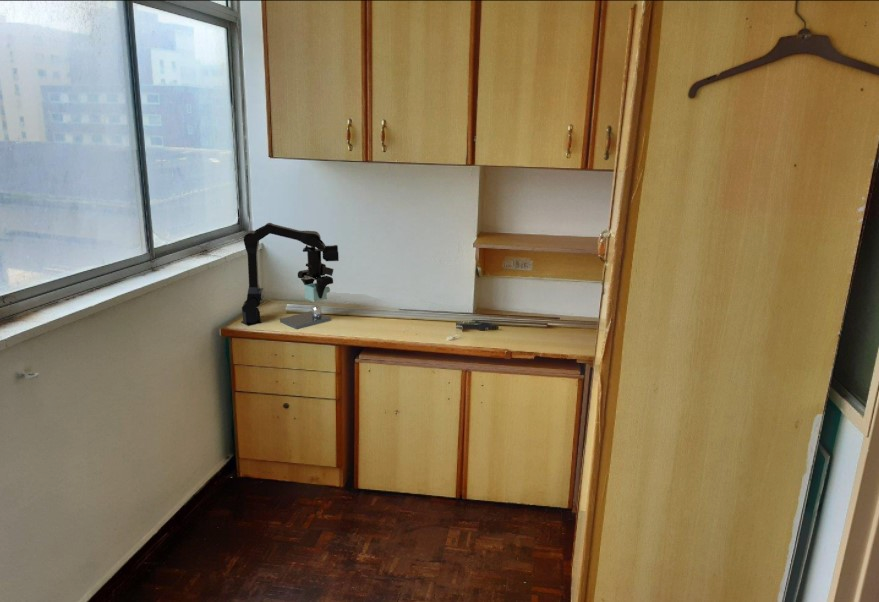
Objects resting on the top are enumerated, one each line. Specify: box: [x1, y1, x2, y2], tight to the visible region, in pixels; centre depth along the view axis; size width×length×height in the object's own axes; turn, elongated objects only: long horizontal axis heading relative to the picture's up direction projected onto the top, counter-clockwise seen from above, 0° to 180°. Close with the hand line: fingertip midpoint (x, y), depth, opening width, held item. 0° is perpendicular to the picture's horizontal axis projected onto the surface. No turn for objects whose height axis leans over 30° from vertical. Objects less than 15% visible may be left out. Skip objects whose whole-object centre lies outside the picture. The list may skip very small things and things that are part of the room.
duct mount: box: [279, 304, 331, 330], centre depth 279 cm, size 17×13×6 cm
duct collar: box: [304, 282, 331, 303], centre depth 279 cm, size 7×10×6 cm
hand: (315, 296), depth 278 cm, fingers closed on duct collar, 7 cm apart
